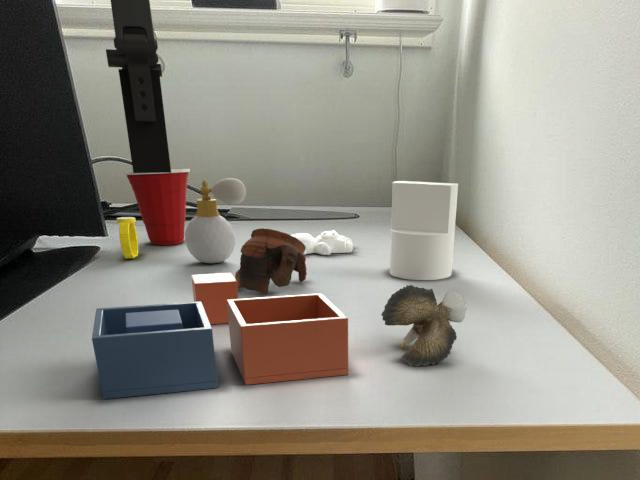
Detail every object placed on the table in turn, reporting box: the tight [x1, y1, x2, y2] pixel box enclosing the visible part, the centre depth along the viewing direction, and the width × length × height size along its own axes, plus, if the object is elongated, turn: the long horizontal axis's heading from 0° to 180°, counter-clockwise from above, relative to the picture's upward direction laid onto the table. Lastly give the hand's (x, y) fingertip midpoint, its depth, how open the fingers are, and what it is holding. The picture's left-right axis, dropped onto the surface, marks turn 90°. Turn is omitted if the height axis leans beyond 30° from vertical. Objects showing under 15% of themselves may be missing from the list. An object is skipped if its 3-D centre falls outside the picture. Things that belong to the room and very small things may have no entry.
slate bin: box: [91, 301, 219, 400], centre depth 57 cm, size 9×9×5 cm
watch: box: [116, 216, 139, 259], centre depth 103 cm, size 6×3×6 cm, turn 6°
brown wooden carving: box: [234, 227, 308, 295], centre depth 86 cm, size 12×10×8 cm
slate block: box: [125, 310, 183, 333], centre depth 57 cm, size 4×4×4 cm
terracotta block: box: [190, 272, 239, 325], centre depth 73 cm, size 4×4×4 cm
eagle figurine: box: [381, 284, 468, 367], centre depth 64 cm, size 8×7×9 cm
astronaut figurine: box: [290, 229, 354, 256], centre depth 110 cm, size 9×12×3 cm
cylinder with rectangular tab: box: [389, 180, 459, 281], centre depth 93 cm, size 9×9×12 cm
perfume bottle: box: [184, 177, 247, 264], centre depth 99 cm, size 8×10×12 cm
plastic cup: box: [123, 168, 191, 246], centre depth 114 cm, size 11×11×12 cm
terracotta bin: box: [227, 292, 349, 386], centre depth 60 cm, size 9×9×5 cm
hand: (151, 166), depth 55 cm, fingers open, 13 cm apart
